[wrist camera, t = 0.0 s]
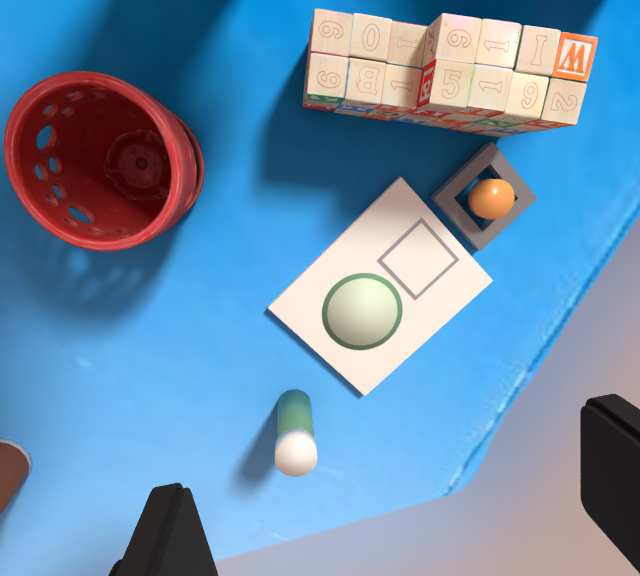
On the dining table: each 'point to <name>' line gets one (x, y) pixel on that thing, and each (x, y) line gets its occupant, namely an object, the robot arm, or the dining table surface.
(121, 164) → the plant pot
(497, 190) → the button
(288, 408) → the marker
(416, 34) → the stack of blocks
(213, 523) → the dining table surface
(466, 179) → the button housing
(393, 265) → the activity sheet
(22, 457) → the coffee cup
